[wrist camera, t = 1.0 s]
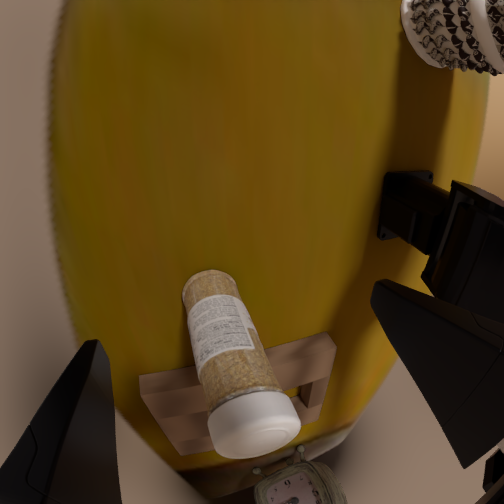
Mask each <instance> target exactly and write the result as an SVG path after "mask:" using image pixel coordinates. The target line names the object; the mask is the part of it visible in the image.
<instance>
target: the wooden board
mask: <svg viewBox="0 0 504 504" xmlns="http://www.w3.org/2000/svg"><path fill="white" fill-rule="evenodd" d="M336 350H337V346H336V345H335V343H334V342H333V341H332V339H331V338H330V336H329V335H328V333H327V332H323V333H320V334H317V335H313V336H310V337H307V338H303V339H300V340H297V341H293V342H290V343H286V344H283V345H279V346H275V347H272V348H268V349H264V352H265V354H266V356H267V358H268V361H269V363H270V365H271V367H272V369H273V372H274V374H275V376H276V378H277V381H278V383H279V385H280V387H281V389H282V391H285V390H288V389H291V388H295V387H298V386H301V385H302V386H301V393H300V395H298V396H295V397H292V398H290V400H291V402H292V404H293V406H294V408H295V410H296V413H297V415H298V417H299V419H300V422H301V426H302V425H305V424H308V423H311V422H314V421H316V420H318V418H319V415H320V411H321V408H322V404H323V401H324V397H325V394H326V390H327V386H328V382H329V378H330V375H331V371H332V367H333V362H334V358H335V354H336ZM139 385H140V396H141V398H142V399H143V401H144V403H145V404H146V406H147V407H148V409H149V411H150V412H151V414H152V415H153V417H154V418H155V420H156V421H157V423H158V424H159V426H160V427H161V429H162V430H163V432H164V433H165V435H166V436H167V438H168V439H169V440H170V442H171V443H172V445H173V446H174V447H175V449H176V450H177V451H178V453H179V454H180V455H181V456H183V455H190V454H195V453H201V452H206V451H211V450H215V448H214V445H213V442H212V439H211V436H210V432H209V428H208V410H207V406H206V403H205V398H204V394H203V390H202V385H201V383H200V381H199V378H198V373H197V369H196V365H195V366H190V367H185V368H180V369H175V370H169V371H164V372H158V373H152V374H145V375H139Z"/></svg>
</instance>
